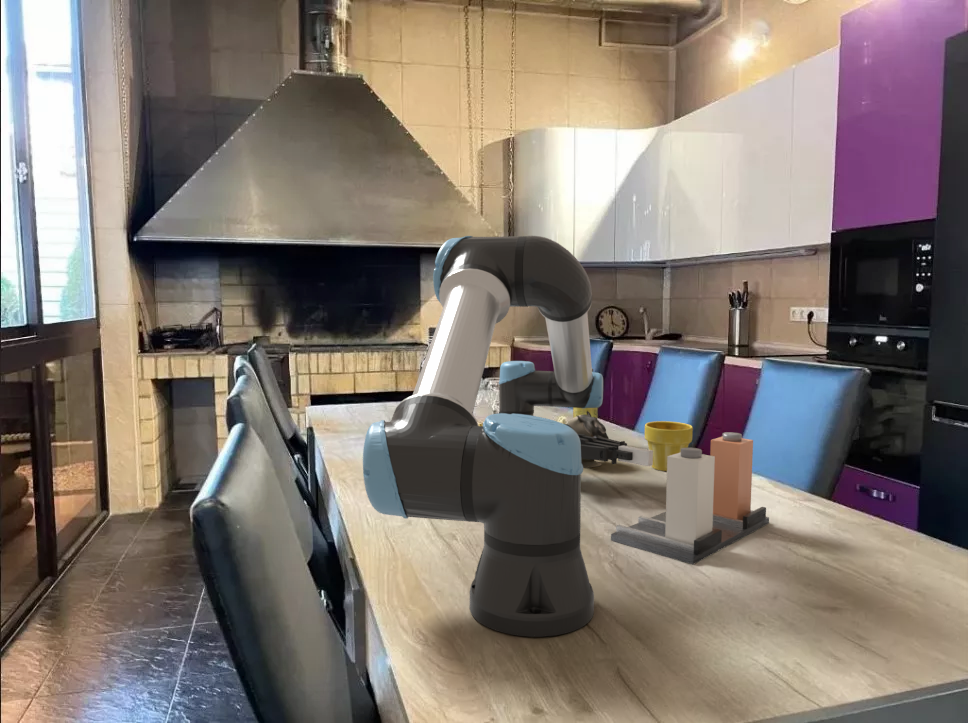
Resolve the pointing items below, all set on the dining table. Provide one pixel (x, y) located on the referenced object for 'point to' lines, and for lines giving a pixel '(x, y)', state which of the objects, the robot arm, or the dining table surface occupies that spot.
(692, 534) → the white square bottle
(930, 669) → the dining table surface
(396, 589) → the dining table surface
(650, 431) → the plant pot
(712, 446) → the orange square bottle
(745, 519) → the dark grey divided tray
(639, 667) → the dining table surface
